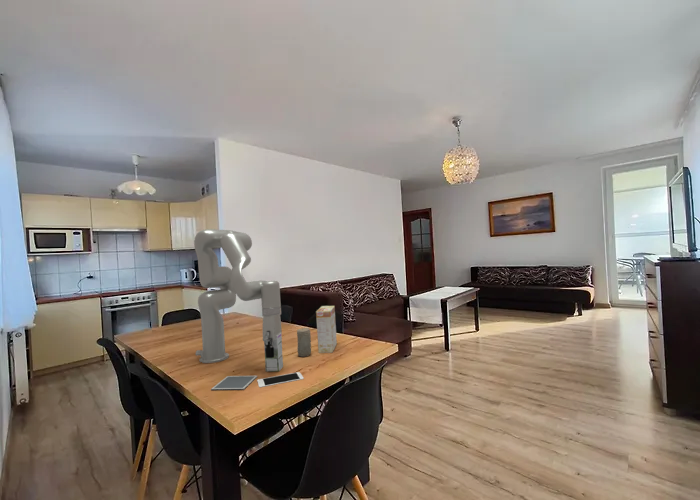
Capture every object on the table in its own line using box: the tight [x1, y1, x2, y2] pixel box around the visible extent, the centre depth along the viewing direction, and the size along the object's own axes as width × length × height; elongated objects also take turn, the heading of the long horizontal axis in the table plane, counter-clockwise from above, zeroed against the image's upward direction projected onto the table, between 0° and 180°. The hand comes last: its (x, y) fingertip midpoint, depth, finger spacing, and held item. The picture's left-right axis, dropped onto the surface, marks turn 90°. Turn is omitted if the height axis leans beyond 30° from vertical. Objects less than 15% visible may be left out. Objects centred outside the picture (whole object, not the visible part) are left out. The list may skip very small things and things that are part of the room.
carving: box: [296, 327, 312, 358], centre depth 150 cm, size 6×8×12 cm
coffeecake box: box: [315, 305, 338, 354], centre depth 159 cm, size 15×7×20 cm, turn 174°
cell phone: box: [256, 371, 305, 388], centre depth 121 cm, size 8×16×1 cm, turn 111°
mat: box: [210, 375, 258, 391], centre depth 120 cm, size 12×12×1 cm
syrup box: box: [263, 332, 284, 373], centre depth 133 cm, size 6×6×14 cm
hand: (274, 353), depth 132 cm, fingers open, 9 cm apart
